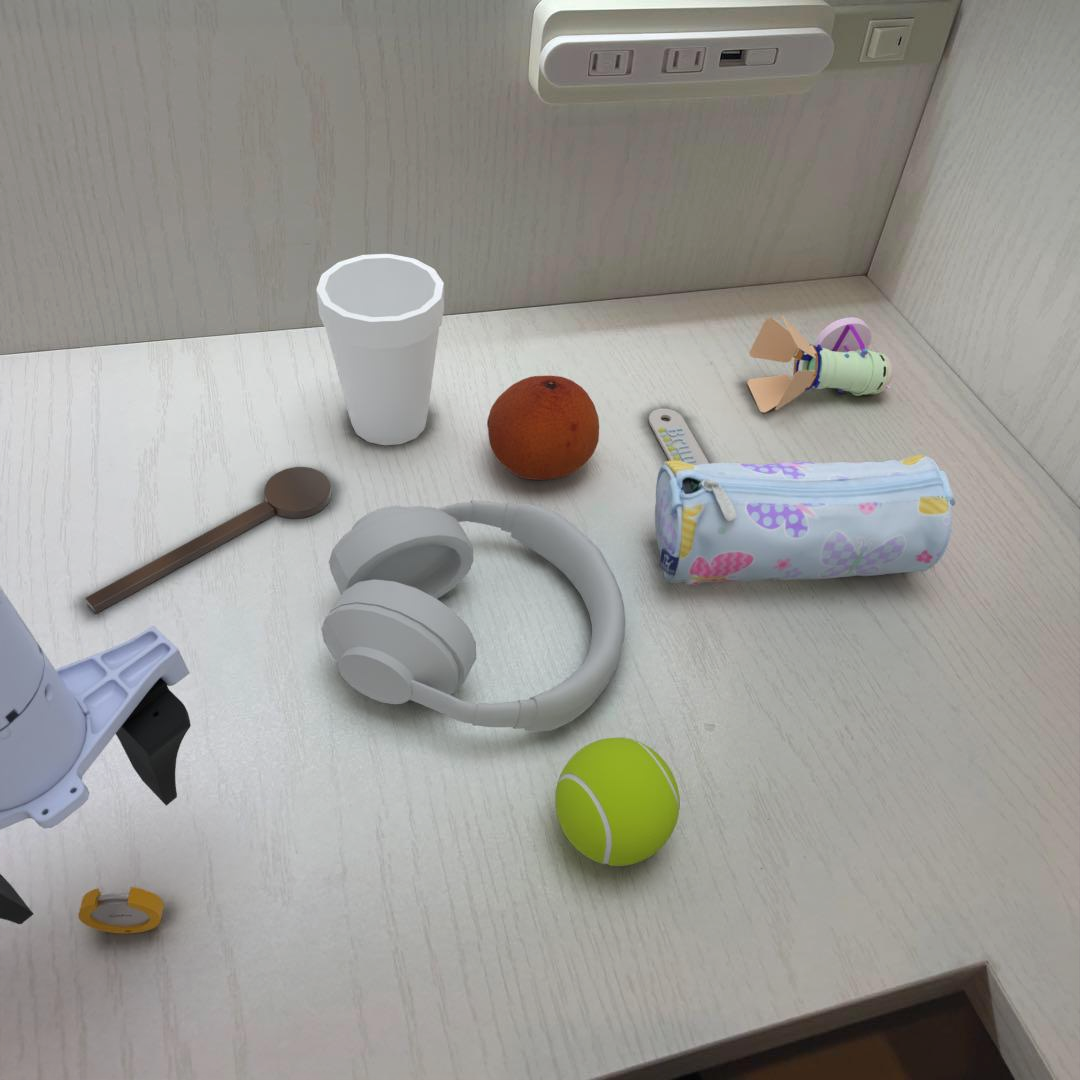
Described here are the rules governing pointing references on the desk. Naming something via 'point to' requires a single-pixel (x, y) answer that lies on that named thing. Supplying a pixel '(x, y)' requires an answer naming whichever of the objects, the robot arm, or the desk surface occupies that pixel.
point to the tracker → (121, 911)
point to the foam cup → (383, 341)
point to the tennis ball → (617, 801)
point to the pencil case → (800, 519)
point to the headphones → (437, 631)
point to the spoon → (229, 530)
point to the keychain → (676, 437)
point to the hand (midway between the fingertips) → (91, 844)
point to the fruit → (543, 427)
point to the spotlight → (819, 362)
